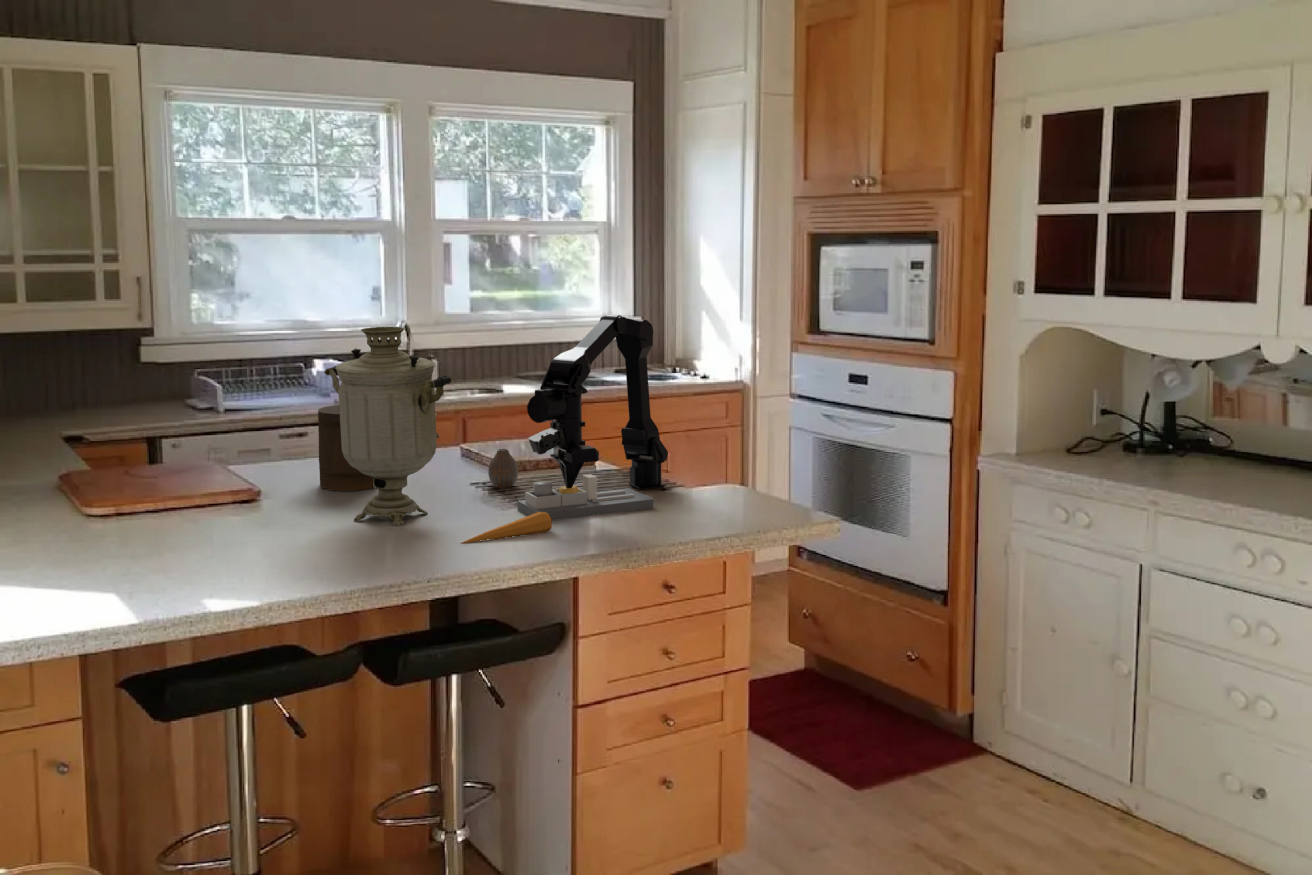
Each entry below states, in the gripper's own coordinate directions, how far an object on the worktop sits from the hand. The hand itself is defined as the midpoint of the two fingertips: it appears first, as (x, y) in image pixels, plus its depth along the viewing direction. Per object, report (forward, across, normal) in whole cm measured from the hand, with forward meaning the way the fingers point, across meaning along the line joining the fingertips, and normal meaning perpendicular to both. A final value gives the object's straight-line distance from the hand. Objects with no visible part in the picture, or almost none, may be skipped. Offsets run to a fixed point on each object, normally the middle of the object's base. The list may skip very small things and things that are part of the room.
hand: (568, 487), depth 270 cm
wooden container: (+5, -47, -35) cm, 59 cm away
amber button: (+3, 0, 0) cm, 3 cm away
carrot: (+6, +14, -20) cm, 25 cm away
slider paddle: (+3, 0, +5) cm, 6 cm away
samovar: (+5, -12, -33) cm, 36 cm away
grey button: (+1, 0, -6) cm, 6 cm away
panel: (+5, 0, +4) cm, 6 cm away
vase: (+5, -29, -4) cm, 30 cm away
